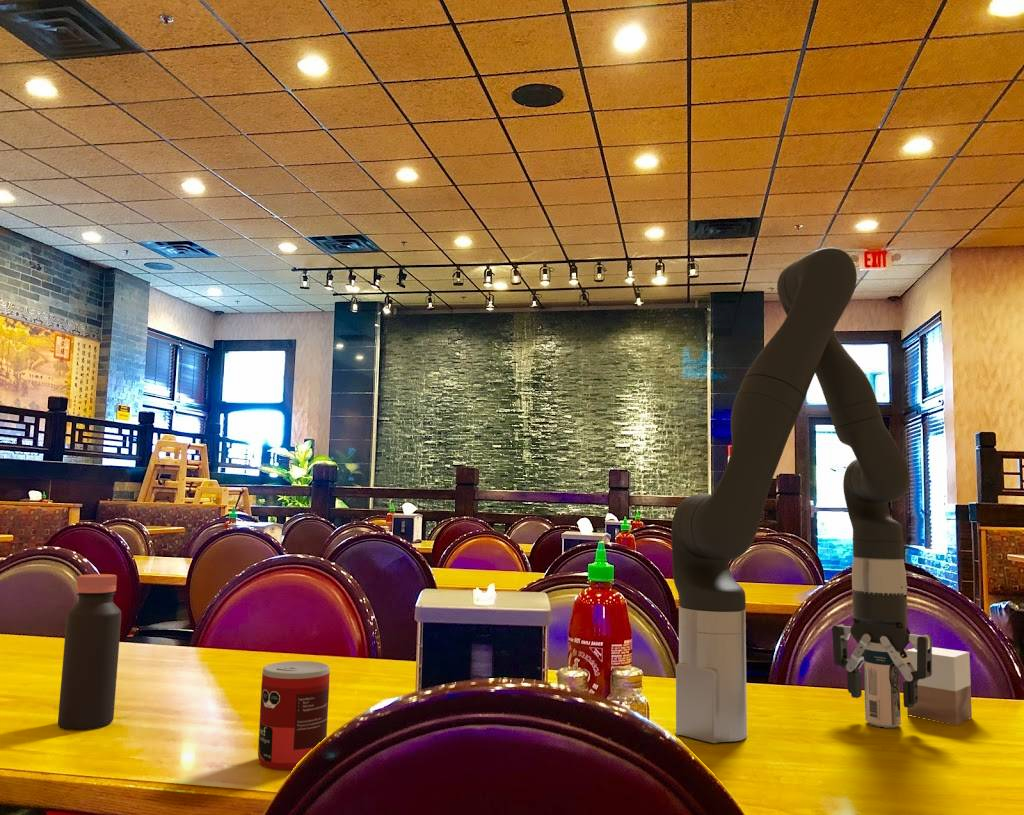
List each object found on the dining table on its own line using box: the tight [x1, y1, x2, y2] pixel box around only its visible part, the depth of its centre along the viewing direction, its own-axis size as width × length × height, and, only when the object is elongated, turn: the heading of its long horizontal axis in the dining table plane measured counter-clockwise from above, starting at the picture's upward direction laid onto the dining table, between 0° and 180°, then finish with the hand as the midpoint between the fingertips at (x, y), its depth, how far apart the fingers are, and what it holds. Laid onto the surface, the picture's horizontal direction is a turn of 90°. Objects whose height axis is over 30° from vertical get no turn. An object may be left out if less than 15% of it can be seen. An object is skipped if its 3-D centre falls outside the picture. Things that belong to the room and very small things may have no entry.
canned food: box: [257, 660, 330, 771], centre depth 99 cm, size 8×8×11 cm
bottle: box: [57, 573, 122, 731], centre depth 113 cm, size 7×7×20 cm
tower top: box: [905, 646, 972, 691], centre depth 128 cm, size 7×7×5 cm
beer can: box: [863, 642, 902, 729], centre depth 122 cm, size 5×5×12 cm
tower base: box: [906, 685, 973, 726], centre depth 127 cm, size 7×7×5 cm
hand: (882, 701), depth 122 cm, fingers open, 7 cm apart
